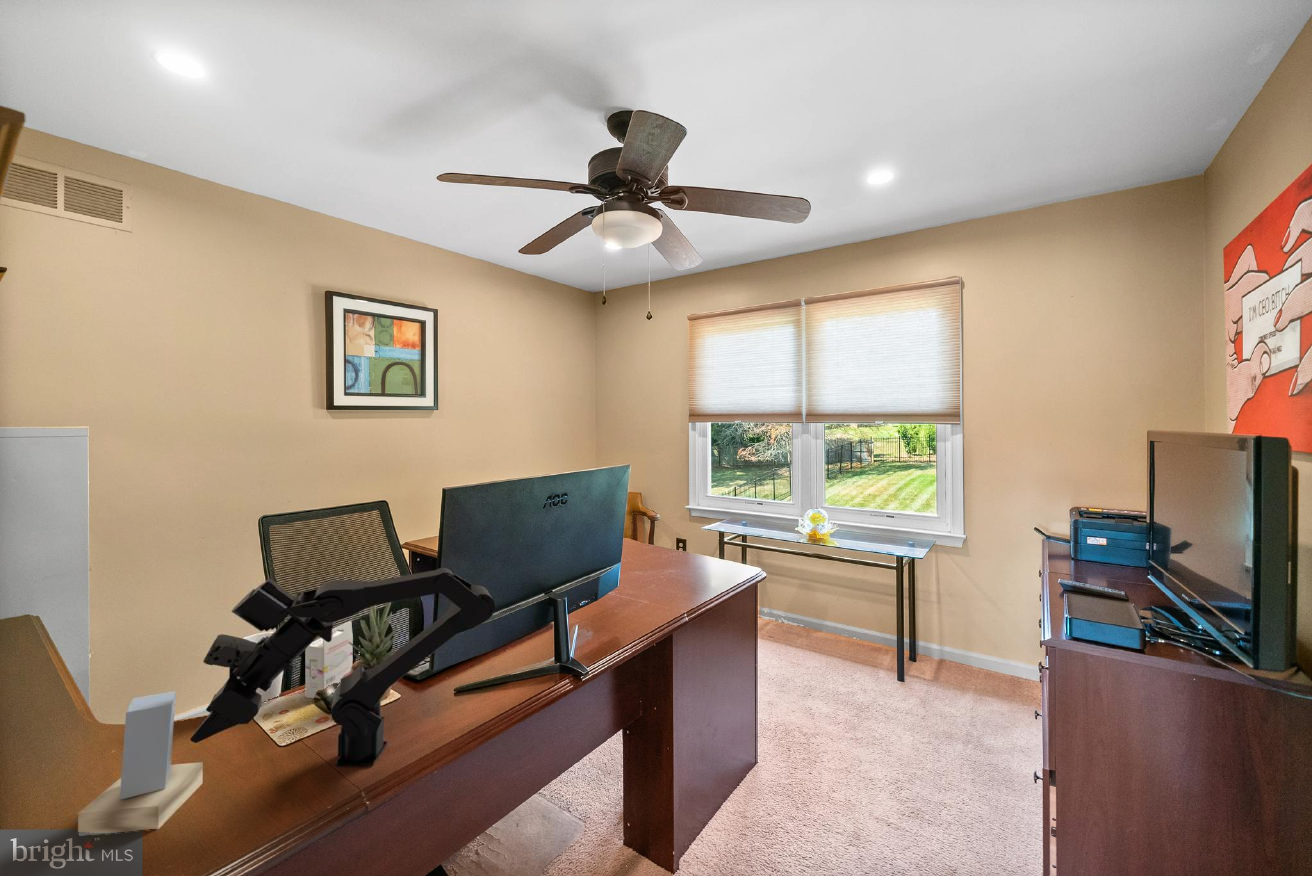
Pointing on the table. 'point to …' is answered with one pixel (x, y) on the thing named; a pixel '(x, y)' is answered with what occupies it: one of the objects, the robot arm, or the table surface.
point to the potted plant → (375, 642)
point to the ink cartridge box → (328, 660)
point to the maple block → (140, 803)
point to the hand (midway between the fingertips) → (201, 725)
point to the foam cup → (276, 683)
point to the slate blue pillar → (147, 744)
